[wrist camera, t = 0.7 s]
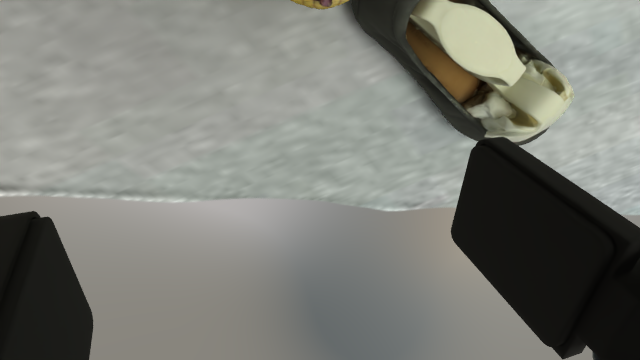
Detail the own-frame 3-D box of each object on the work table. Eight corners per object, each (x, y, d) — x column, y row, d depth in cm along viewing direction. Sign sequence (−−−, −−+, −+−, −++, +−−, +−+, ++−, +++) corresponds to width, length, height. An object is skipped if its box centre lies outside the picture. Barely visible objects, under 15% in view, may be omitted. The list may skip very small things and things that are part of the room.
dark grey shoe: (500, 157, 52) (566, 206, 44) (306, 28, 35) (352, 68, 27) (561, 86, 48) (644, 125, 40) (378, -92, 32) (455, -88, 24)
